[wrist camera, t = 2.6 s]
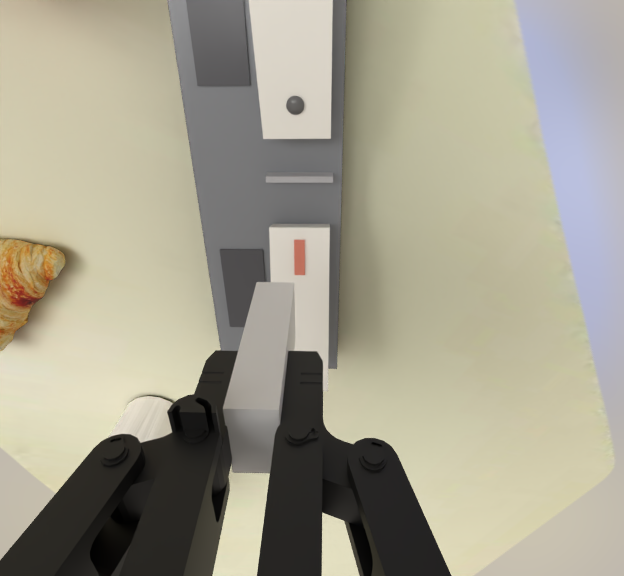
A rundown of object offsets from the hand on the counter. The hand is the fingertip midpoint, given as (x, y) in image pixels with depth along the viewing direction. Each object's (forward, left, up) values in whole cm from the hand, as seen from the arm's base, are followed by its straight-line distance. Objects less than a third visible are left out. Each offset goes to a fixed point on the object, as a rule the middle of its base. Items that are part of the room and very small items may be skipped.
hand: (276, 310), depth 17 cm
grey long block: (-2, -2, -17) cm, 18 cm away
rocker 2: (+7, 0, -12) cm, 14 cm away
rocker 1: (-11, 0, -12) cm, 16 cm away
